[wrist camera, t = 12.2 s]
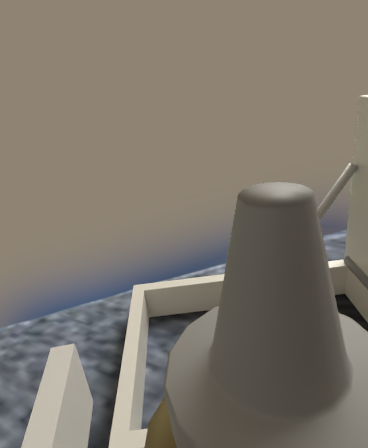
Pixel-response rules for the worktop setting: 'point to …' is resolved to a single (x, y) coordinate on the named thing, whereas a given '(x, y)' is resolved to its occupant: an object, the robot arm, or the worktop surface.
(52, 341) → the worktop surface
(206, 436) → the squeeze bottle
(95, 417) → the worktop surface
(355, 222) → the access hatch
